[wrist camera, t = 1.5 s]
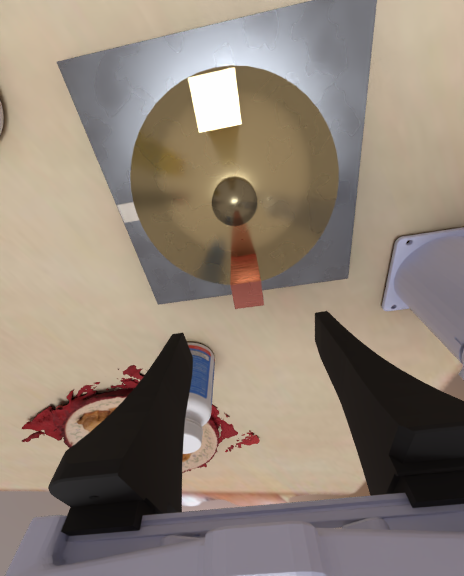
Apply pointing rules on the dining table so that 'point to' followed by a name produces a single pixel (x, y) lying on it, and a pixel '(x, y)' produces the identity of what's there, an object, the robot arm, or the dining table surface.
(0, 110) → the supplement bottle
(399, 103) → the dining table surface
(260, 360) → the dining table surface
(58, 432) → the plate with food
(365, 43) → the cap plate
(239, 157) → the brass cymbal
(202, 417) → the pill bottle
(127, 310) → the dining table surface
